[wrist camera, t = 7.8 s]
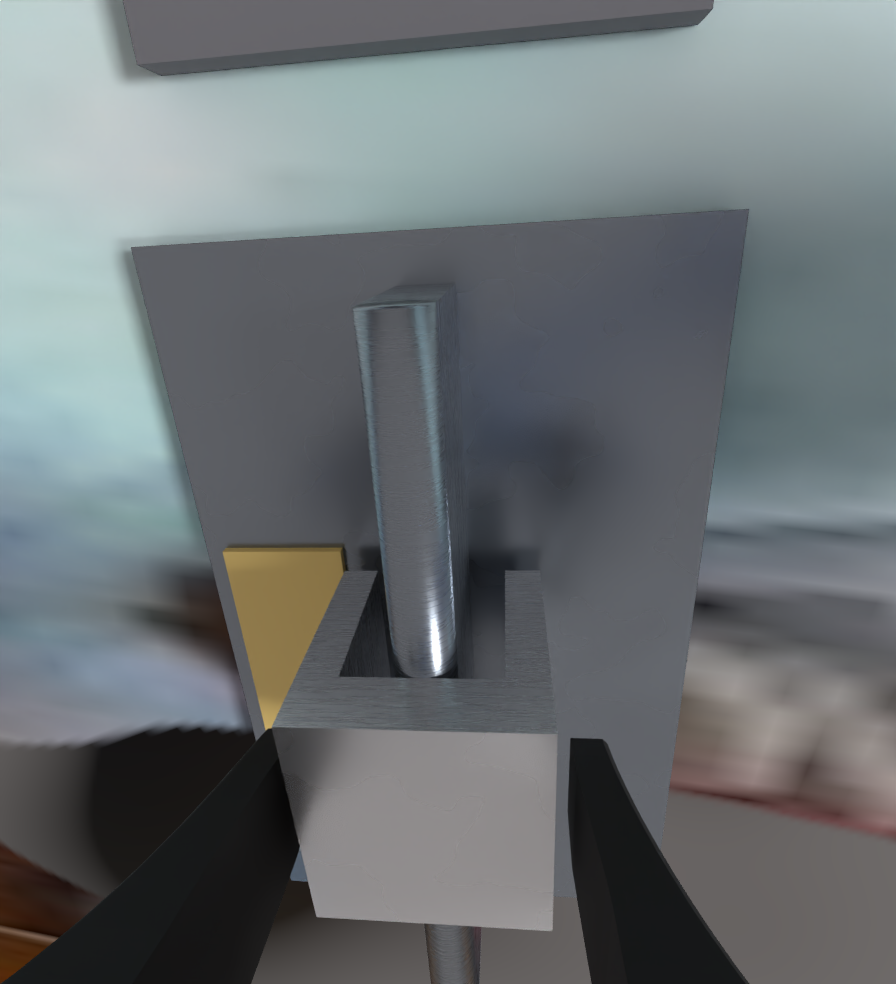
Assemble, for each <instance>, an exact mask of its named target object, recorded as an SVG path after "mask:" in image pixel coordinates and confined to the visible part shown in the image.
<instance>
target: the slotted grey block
mask: <svg viewBox="0 0 896 984" xmlns="http://www.w3.org/2000/svg"><path fill="white" fill-rule="evenodd" d="M505 676H506V679H448V678H391V676H390V668H389V660H388V652H387V643H386V635H385V627H384V619H383V611H382V602H381V594H380V586H379V578H378V571H344V573H343V576H342V578H341V580H340V582H339V584H338V586H337V588H336V591H335V593H334V595H333V597H332V599H331V601H330V603H329V605H328V608H327V610H326V612H325V614H324V616H323V618H322V620H321V623H320V625H319V627H318V629H317V631H316V633H315V635H314V637H313V640H312V642H311V644H310V646H309V648H308V650H307V652H306V655H305V657H304V659H303V661H302V663H301V665H300V667H299V670H298V672H297V674H296V676H295V678H294V680H293V682H292V684H291V687H290V689H289V691H288V693H287V695H286V697H285V699H284V702H283V704H282V706H281V708H280V710H279V712H278V714H277V716H276V719H275V721H274V723H273V725H272V731H273V735H274V739H275V744H276V748H277V752H278V756H279V761H280V765H281V769H282V773H283V777H284V782H285V786H286V790H287V794H288V798H289V803H290V807H291V811H292V815H293V819H294V824H295V828H296V832H297V836H298V841H299V845H300V849H301V853H302V857H303V862H304V866H305V870H306V874H307V878H308V882H309V887H310V891H311V895H312V899H313V904H314V908H315V912H316V916H317V917H327V918H343V919H359V920H376V921H393V922H410V923H426V924H442V925H459V926H476V927H493V928H509V929H526V930H542V931H552V926H553V889H554V852H555V814H556V777H557V740H558V733H557V724H556V715H555V705H554V696H553V687H552V678H551V668H550V659H549V650H548V641H547V631H546V622H545V613H544V603H543V594H542V585H541V576H540V571H505Z"/></svg>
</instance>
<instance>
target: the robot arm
mask: <svg viewBox="0 0 896 984" xmlns="http://www.w3.org/2000/svg"><path fill="white" fill-rule="evenodd" d="M567 811H568V824H569V837H570V849H571V861H572V871H573V877H574V883H575V889H576V895H577V901H578V907H579V912H580V918H581V924H582V930H583V936H584V942H585V947H586V953H587V959H588V965H589V970H590V976H591V982H592V984H749V983H748V981H747V980H746V979H745V977H744V976H743V975H742V973H741V972H740V971H739V969H738V968H737V967H736V965H735V964H734V963H733V961H732V960H731V958H730V957H729V955H728V954H727V953H726V952H725V950H724V948H723V947H722V946H721V944H720V943H719V941H718V940H717V939H716V937H715V936H714V934H713V933H712V931H711V930H710V929H709V927H708V925H707V924H706V923H705V921H704V920H703V918H702V917H701V915H700V914H699V912H698V910H697V909H696V907H695V906H694V905H693V903H692V901H691V900H690V898H689V897H688V895H687V893H686V892H685V890H684V889H683V887H682V885H681V884H680V882H679V881H678V879H677V878H676V876H675V874H674V873H673V871H672V869H671V868H670V866H669V864H668V863H667V861H666V859H665V858H664V856H663V854H662V853H661V851H660V849H659V847H658V845H657V844H656V842H655V840H654V838H653V837H652V835H651V833H650V831H649V830H648V828H647V826H646V824H645V822H644V821H643V819H642V817H641V815H640V813H639V811H638V809H637V807H636V806H635V804H634V802H633V800H632V798H631V796H630V794H629V792H628V790H627V788H626V785H625V783H624V781H623V779H622V777H621V775H620V773H619V770H618V768H617V766H616V764H615V761H614V759H613V756H612V754H611V751H610V749H609V746H608V744H607V743H606V742H605V741H604V740H603V739H591V738H570V760H569V785H568V810H567ZM299 848H300V845H299V841H298V836H297V832H296V828H295V824H294V819H293V815H292V811H291V807H290V803H289V798H288V794H287V790H286V786H285V782H284V777H283V773H282V769H281V765H280V761H279V756H278V752H277V748H276V744H275V739H274V735H273V731H272V728H268V729H267V730H266V731H265V732H264V733H263V734H262V735H261V736H260V737H259V739H258V740H257V741H256V742H255V743H254V744H253V745H252V747H251V748H250V749H249V750H248V751H247V752H246V753H245V755H244V756H243V757H242V758H241V760H239V761H238V763H237V764H236V765H235V766H234V767H233V768H232V769H231V771H230V772H229V773H228V774H227V775H226V776H225V777H224V779H223V780H222V781H221V782H220V783H219V784H218V785H217V786H216V788H215V789H214V790H213V791H212V792H211V793H210V794H209V795H208V796H207V797H206V798H205V799H204V800H203V802H202V803H201V804H200V805H199V806H198V807H197V808H196V809H195V810H194V811H193V812H192V813H191V815H190V816H189V817H188V818H187V819H186V820H185V821H184V822H183V823H182V824H181V825H180V826H179V827H178V828H177V829H176V830H175V831H174V833H172V835H170V836H169V837H168V838H167V839H166V840H165V842H163V843H162V844H161V845H160V846H159V847H158V848H157V849H156V850H155V851H154V852H153V854H151V856H149V857H148V858H147V859H146V861H144V863H142V864H141V865H140V866H139V867H138V868H137V869H136V870H135V871H134V872H133V873H132V874H131V875H130V876H129V877H128V878H127V879H126V880H125V881H124V882H122V883H121V884H120V885H119V886H118V887H117V888H116V889H115V890H114V891H113V892H112V893H111V894H109V895H108V896H107V897H106V898H105V899H104V900H103V901H101V902H100V903H99V904H98V905H97V906H96V907H95V908H94V909H92V910H91V911H90V912H89V913H88V914H87V915H86V916H84V917H83V918H82V919H81V920H80V921H79V922H77V923H76V924H75V925H74V926H73V927H71V928H70V929H69V930H68V931H67V932H65V933H64V934H63V935H62V936H61V937H59V938H58V939H57V940H56V941H55V942H53V943H52V944H51V945H50V946H48V947H47V948H46V949H45V950H43V951H42V952H41V953H40V954H38V955H37V956H36V957H35V958H33V959H32V960H31V961H30V962H28V963H27V964H26V965H25V966H23V967H22V968H21V969H20V970H18V971H17V972H16V973H15V974H13V975H12V976H11V977H9V978H8V979H7V980H5V981H4V982H2V983H1V984H251V982H252V979H253V976H254V974H255V971H256V968H257V966H258V963H259V960H260V957H261V954H262V952H263V949H264V946H265V944H266V941H267V938H268V936H269V933H270V930H271V927H272V925H273V922H274V919H275V916H276V914H277V911H278V908H279V906H280V903H281V900H282V897H283V895H284V892H285V889H286V886H287V883H288V881H289V878H290V875H291V872H292V870H293V867H294V864H295V861H296V858H297V855H298V852H299Z"/></svg>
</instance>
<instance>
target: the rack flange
mask: <svg viewBox="0 0 896 984" xmlns="http://www.w3.org/2000/svg"><path fill="white" fill-rule="evenodd" d="M748 213H749V209H743V210H727V211H711V212H695V213H679V214H662V215H646V216H630V217H614V218H598V219H581V220H565V221H549V222H533V223H517V224H500V225H484V226H468V227H452V228H436V229H419V230H403V231H387V232H371V233H355V234H338V235H322V236H306V237H290V238H274V239H258V240H241V241H225V242H209V243H193V244H177V245H160V246H144V247H131V250H132V253H133V257H134V261H135V265H136V269H137V273H138V277H139V281H140V285H141V289H142V293H143V297H144V301H145V305H146V309H147V313H148V317H149V321H150V324H151V328H152V332H153V336H154V340H155V344H156V348H157V352H158V356H159V360H160V364H161V368H162V372H163V376H164V380H165V384H166V388H167V392H168V396H169V399H170V403H171V407H172V411H173V415H174V419H175V423H176V427H177V431H178V435H179V439H180V443H181V447H182V451H183V455H184V459H185V463H186V467H187V470H188V474H189V478H190V482H191V486H192V490H193V494H194V498H195V502H196V506H197V510H198V514H199V518H200V522H201V526H202V530H203V534H204V538H205V542H206V545H207V549H208V553H209V557H210V561H211V565H212V569H213V573H214V577H215V581H216V585H217V589H218V593H219V597H220V601H221V605H222V609H223V613H224V616H225V620H226V624H227V628H228V632H229V636H230V640H231V644H232V648H233V652H234V656H235V660H236V664H237V668H238V672H239V676H240V680H241V684H242V688H243V691H244V695H245V699H246V703H247V707H248V711H249V715H250V719H251V723H252V727H253V731H254V735H255V739H256V741H257V740H258V739H259V737H260V736H261V735H262V734H263V733H264V732H265V731H266V730H267V729H268V728H272V725H273V723H274V721H275V719H276V716H277V714H278V712H279V710H280V708H281V706H282V704H283V702H284V699H285V697H286V695H287V693H288V691H289V689H290V687H291V684H292V682H293V680H294V678H295V676H296V674H297V672H298V670H299V667H300V665H301V663H302V661H303V659H304V657H305V655H306V652H307V650H308V648H309V646H310V644H311V642H312V640H313V637H314V635H315V633H316V631H317V629H318V627H319V625H320V623H321V620H322V618H323V616H324V614H325V612H326V610H327V608H328V605H329V603H330V601H331V599H332V597H333V595H334V593H335V591H336V588H337V586H338V584H339V582H340V580H341V578H342V576H343V573H344V571H378V578H379V586H380V594H381V602H382V611H383V619H384V627H385V635H386V643H387V652H388V660H389V668H390V676H391V678H448V679H506V676H505V571H540V576H541V585H542V594H543V603H544V613H545V622H546V631H547V641H548V650H549V659H550V668H551V678H552V687H553V696H554V705H555V715H556V724H557V733H558V740H557V777H556V814H555V852H554V889H553V896H558V897H574V898H575V897H576V898H577V895H576V889H575V883H574V877H573V871H572V861H571V849H570V837H569V824H568V811H567V810H568V785H569V760H570V738H591V739H603V740H604V741H605V742H606V743H607V744H608V746H609V749H610V751H611V754H612V756H613V759H614V761H615V764H616V766H617V768H618V770H619V773H620V775H621V777H622V779H623V781H624V783H625V785H626V788H627V790H628V792H629V794H630V796H631V798H632V800H633V802H634V804H635V806H636V807H637V809H638V811H639V813H640V815H641V817H642V819H643V821H644V822H645V824H646V826H647V828H648V830H649V831H650V833H651V835H652V837H653V838H654V840H655V842H656V844H657V845H658V847H659V849H660V850H661V843H662V836H663V829H664V821H665V813H666V807H667V800H668V792H669V785H670V778H671V771H672V763H673V756H674V749H675V742H676V734H677V727H678V720H679V713H680V705H681V698H682V691H683V684H684V676H685V669H686V662H687V655H688V647H689V640H690V633H691V626H692V619H693V611H694V604H695V597H696V590H697V582H698V575H699V568H700V561H701V553H702V546H703V539H704V532H705V524H706V517H707V510H708V503H709V495H710V488H711V481H712V474H713V466H714V459H715V452H716V445H717V437H718V430H719V423H720V416H721V409H722V401H723V394H724V387H725V380H726V372H727V365H728V358H729V351H730V343H731V336H732V329H733V322H734V314H735V307H736V300H737V293H738V285H739V278H740V271H741V264H742V256H743V249H744V242H745V235H746V227H747V220H748ZM290 877H291V880H292V881H308V878H307V874H306V870H305V866H304V862H303V857H302V853H301V849H300V848H299V852H298V855H297V858H296V861H295V864H294V867H293V870H292V872H291V875H290ZM424 928H425V937H426V945H427V953H428V962H429V970H430V979H431V984H479V983H480V956H481V929H482V927H476V926H459V925H442V924H426V923H424Z"/></svg>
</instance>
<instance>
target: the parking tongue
mask: <svg viewBox="0 0 896 984" xmlns="http://www.w3.org/2000/svg"><path fill="white" fill-rule="evenodd" d="M713 2H714V0H123V4H124V8H125V13H126V17H127V21H128V26H129V30H130V35H131V39H132V44H133V48H134V53H135V57H136V62H137V65H139V66H141V67H143V68H145V69H148V70H150V71H152V72H154V73H156V74H159V75H161V76H162V75H172V74H183V73H193V72H204V71H214V70H225V69H236V68H246V67H257V66H267V65H278V64H288V63H299V62H309V61H320V60H330V59H341V58H352V57H362V56H373V55H383V54H394V53H404V52H415V51H425V50H436V49H446V48H457V47H468V46H478V45H489V44H499V43H510V42H520V41H531V40H541V39H552V38H563V37H573V36H584V35H594V34H605V33H615V32H626V31H636V30H647V29H657V28H668V27H679V26H689V25H698V24H699V23H700V22H701V21H702V20H703V19H704V18H705V17H706V16H707V14H708V13H709V12H710V11H711V10H712V9H713Z"/></svg>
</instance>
